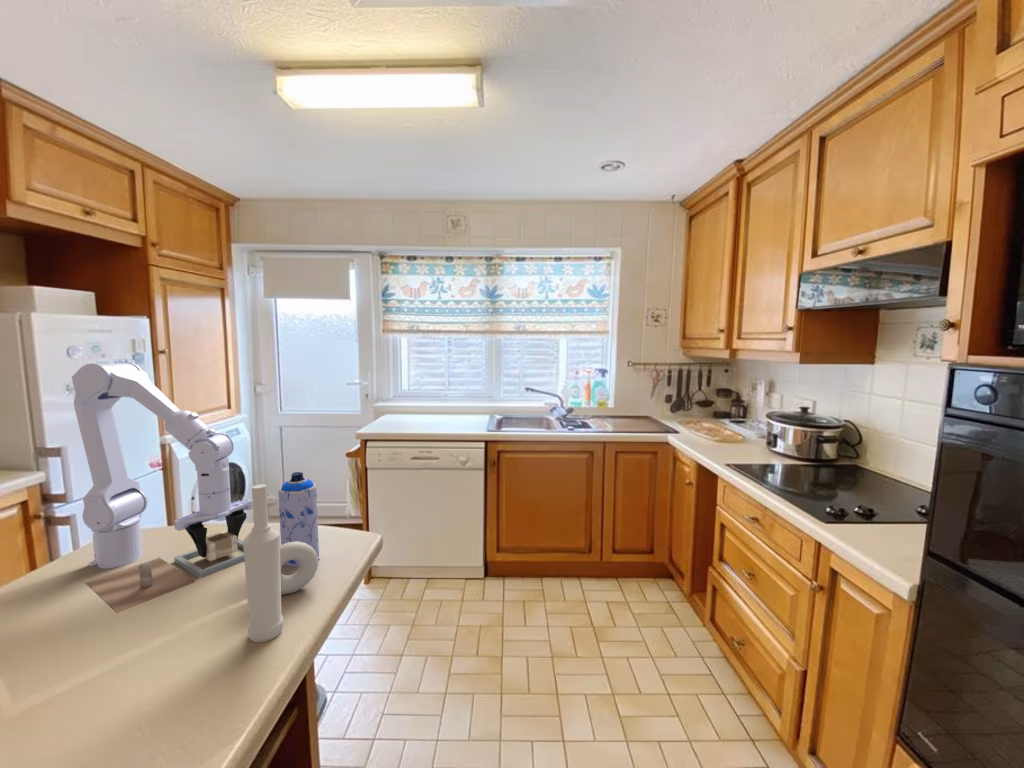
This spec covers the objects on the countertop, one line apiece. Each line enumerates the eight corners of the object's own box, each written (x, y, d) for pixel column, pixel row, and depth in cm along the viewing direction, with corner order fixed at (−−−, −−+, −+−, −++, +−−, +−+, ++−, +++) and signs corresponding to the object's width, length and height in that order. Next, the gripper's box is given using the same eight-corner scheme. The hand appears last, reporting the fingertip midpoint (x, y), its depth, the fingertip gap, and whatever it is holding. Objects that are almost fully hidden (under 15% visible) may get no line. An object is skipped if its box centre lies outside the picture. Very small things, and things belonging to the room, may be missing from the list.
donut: (263, 605, 79) (260, 553, 78) (260, 597, 82) (258, 546, 81) (321, 587, 85) (319, 539, 84) (316, 580, 88) (315, 532, 87)
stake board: (85, 587, 85) (83, 560, 85) (159, 561, 95) (158, 537, 95) (117, 617, 75) (114, 588, 75) (196, 586, 85) (194, 559, 85)
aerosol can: (327, 555, 98) (324, 469, 96) (302, 572, 91) (298, 480, 89) (299, 551, 100) (295, 467, 99) (272, 567, 93) (267, 477, 91)
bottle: (246, 647, 68) (238, 493, 66) (249, 628, 73) (241, 484, 71) (283, 637, 70) (277, 488, 68) (283, 619, 75) (277, 479, 73)
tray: (174, 566, 93) (174, 557, 93) (234, 544, 103) (234, 536, 103) (199, 582, 87) (199, 572, 87) (260, 558, 97) (260, 549, 97)
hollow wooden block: (198, 554, 94) (197, 539, 94) (225, 545, 99) (225, 530, 98) (210, 561, 91) (209, 545, 91) (237, 551, 96) (236, 536, 95)
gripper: (183, 503, 86) (187, 569, 87) (258, 484, 98) (261, 542, 99) (168, 497, 89) (172, 560, 90) (242, 479, 101) (245, 534, 103)
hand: (217, 550), depth 95 cm, fingers closed on hollow wooden block, 5 cm apart
